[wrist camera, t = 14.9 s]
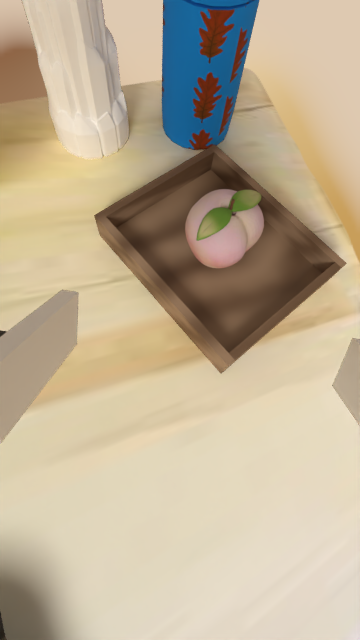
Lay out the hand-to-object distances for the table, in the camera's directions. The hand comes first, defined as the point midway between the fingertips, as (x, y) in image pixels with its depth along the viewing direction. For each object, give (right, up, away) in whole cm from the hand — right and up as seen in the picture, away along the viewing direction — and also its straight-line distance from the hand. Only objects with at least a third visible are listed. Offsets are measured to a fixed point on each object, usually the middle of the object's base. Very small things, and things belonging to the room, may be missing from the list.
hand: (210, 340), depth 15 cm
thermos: (+1, +32, +35) cm, 48 cm away
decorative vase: (-15, +30, +33) cm, 47 cm away
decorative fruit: (+3, +10, +26) cm, 28 cm away
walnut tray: (+3, +9, +27) cm, 28 cm away
